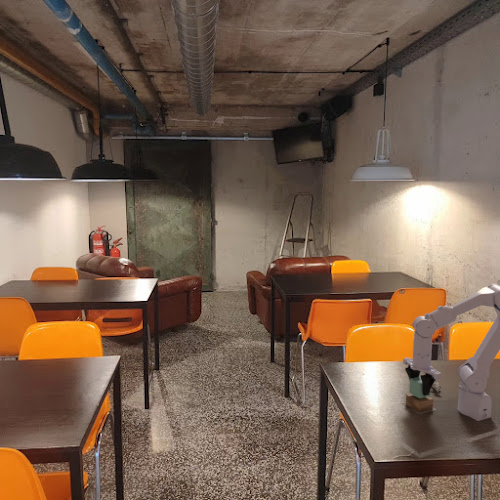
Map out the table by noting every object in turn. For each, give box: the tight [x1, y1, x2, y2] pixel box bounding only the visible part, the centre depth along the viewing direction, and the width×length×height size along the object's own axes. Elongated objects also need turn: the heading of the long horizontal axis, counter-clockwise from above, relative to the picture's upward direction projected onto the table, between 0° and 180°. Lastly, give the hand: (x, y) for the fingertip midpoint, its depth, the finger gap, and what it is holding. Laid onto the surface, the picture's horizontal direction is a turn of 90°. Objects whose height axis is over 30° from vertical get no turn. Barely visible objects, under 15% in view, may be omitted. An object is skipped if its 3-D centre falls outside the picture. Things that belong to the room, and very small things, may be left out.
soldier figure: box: [431, 381, 442, 393], centre depth 158 cm, size 8×5×12 cm
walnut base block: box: [405, 393, 434, 412], centre depth 143 cm, size 6×6×4 cm
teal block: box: [408, 375, 431, 398], centre depth 143 cm, size 5×5×5 cm
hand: (419, 391), depth 143 cm, fingers closed on teal block, 4 cm apart
